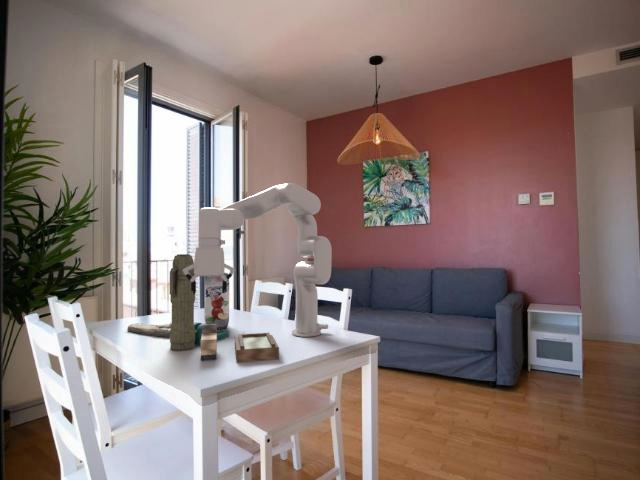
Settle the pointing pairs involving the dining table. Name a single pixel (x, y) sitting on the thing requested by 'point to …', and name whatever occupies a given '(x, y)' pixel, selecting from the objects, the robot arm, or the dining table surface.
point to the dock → (256, 347)
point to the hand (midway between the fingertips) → (209, 292)
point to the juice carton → (216, 302)
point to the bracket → (198, 333)
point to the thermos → (182, 304)
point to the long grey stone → (151, 329)
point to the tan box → (209, 340)
